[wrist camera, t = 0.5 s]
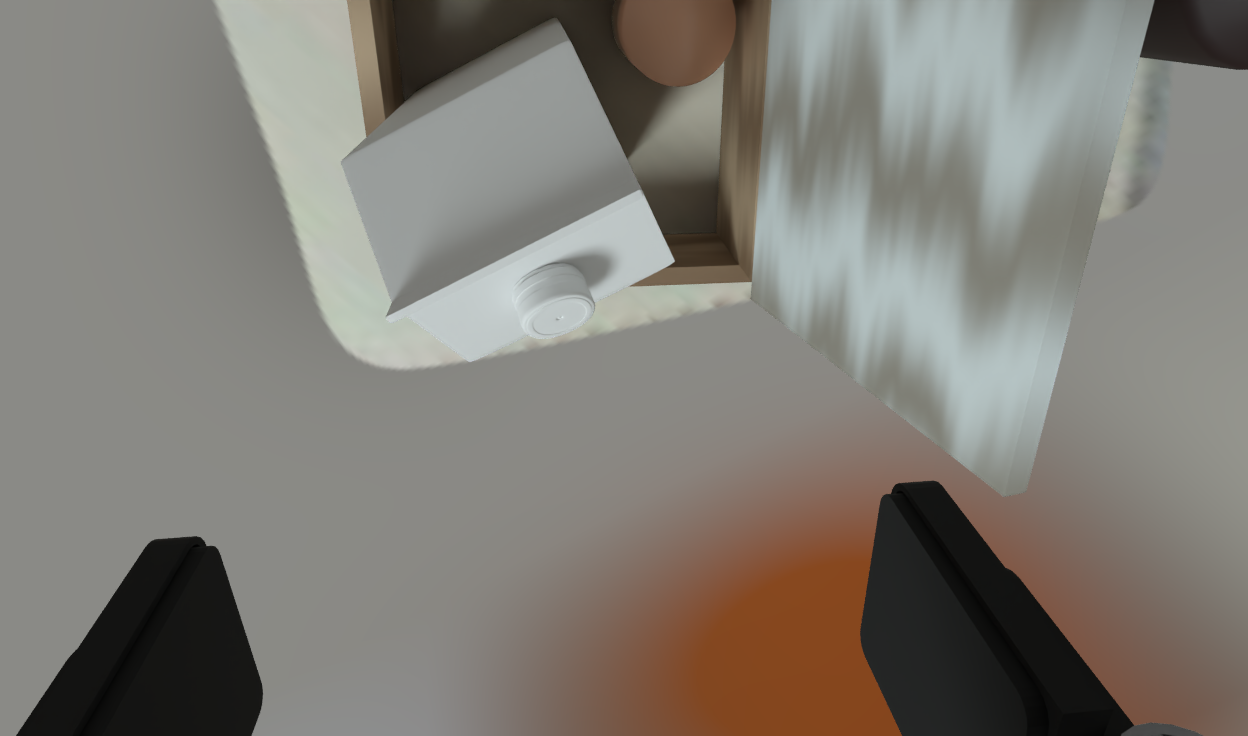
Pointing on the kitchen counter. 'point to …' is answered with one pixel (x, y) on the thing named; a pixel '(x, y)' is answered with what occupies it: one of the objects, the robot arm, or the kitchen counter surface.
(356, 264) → the kitchen counter surface
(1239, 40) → the bottle
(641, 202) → the milk carton
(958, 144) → the box
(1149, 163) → the kitchen counter surface
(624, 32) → the tan rounded ovoid
